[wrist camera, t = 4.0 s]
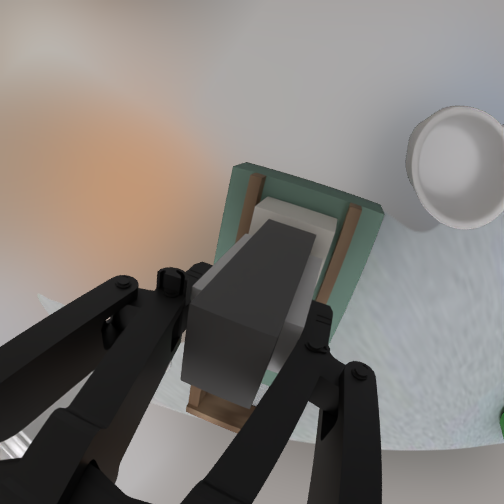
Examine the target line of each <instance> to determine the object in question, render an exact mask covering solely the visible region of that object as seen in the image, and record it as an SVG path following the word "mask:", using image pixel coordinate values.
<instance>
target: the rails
mask: <svg viewBox="0 0 504 504" xmlns="http://www.w3.org/2000/svg"><path fill="white" fill-rule="evenodd" d="M265 180H266V175H262V174H259V173H253V174H251V175H250V178H249V183H248V187H247V192H246V196H245V200H244V205H243V209H242V214H241V218H240V223H239V227H238V232H237V236H236V241H235V244H236V243H237V242H238V241H239V240H240V239H241V238H242V237H243V236H244V235H245V234H249V229H250V225H251V221H252V217H253V213H254V208H255V206H256V205H257V204H259V203H260V200H261V196H262V192H263V188H264V184H265ZM361 212H362V206H359V205H357V204H354V203H351V202H350V205H349V208H348V211H347V214H346V217H345V220H344V223H343V226H342V229H341V232H340V235H339V237H338V240H337V243H336V246H335V249H334V251H333V254H332V257H331V260H330V262H329V265H328V268H327V270H326V273H325V276H324V278H323V281H322V284H321V286H320V289H319V291H318V294H317V297H316V299H315V301H317V302H320V303H323V304H327V301H328V299H329V297H330V294H331V292H332V289H333V287H334V284H335V282H336V279H337V277H338V274H339V272H340V269H341V267H342V264H343V261H344V259H345V256H346V254H347V251H348V248H349V246H350V243H351V240H352V237H353V235H354V232H355V229H356V226H357V224H358V221H359V218H360V215H361Z"/></svg>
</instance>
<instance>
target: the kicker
mask: <svg viewBox="0 0 504 504" xmlns="http://www.w3.org/2000/svg"><path fill="white" fill-rule="evenodd" d="M336 224H337V219H336V218H333V217H330V216H327V215H324V214H321V213H318V212H315V211H312V210H309V209H306V208H303V207H300V206H297V205H294V204H291V203H288V202H285V201H281V200H278V199H275V198H272V197H268V196H267V197H266V198H265V199H264V200H262V201H261V202H260V203H259V204H257V205H256V206H255V208H254V213H253V217H252V221H251V225H250V229H249V235H252V237H251V238H250V239H249V240H248V241H247V243H246V244H245V245H244V246H243V247H242V248H241V249H240V250H239V251H238V252H237V253H236V254H235V255H234V256H233V257H232V259H231V260H230V261H229V262H228V263H227V264H226V265H225V266H224V267H223V268H222V269H221V270H220V271H219V272H218V274H217V275H216V276H215V277H214V278H213V279H212V280H211V281H210V282H209V283H208V284H207V285H206V286H205V287H204V289H203V290H202V291H201V292H200V293H199V294H198V295H197V296H196V297H195V298H194V299H193V300H192V302H191V303H190V305H189V312H188V320H187V328H186V337H185V344H184V353H183V362H182V372H181V380H182V381H184V382H186V383H188V384H190V385H192V386H195V387H197V388H199V389H201V390H204V391H206V392H208V393H210V394H213V395H215V396H218V397H220V398H222V399H225V400H227V401H230V402H232V403H235V404H237V405H240V406H242V407H245V408H248V409H250V408H251V405H252V403H253V401H254V399H255V396H256V394H257V392H258V389H259V387H260V384H261V382H262V380H263V377H264V375H265V372H266V370H267V368H268V365H269V362H270V360H271V357H272V354H273V352H274V349H275V346H276V343H277V341H278V338H279V335H280V333H281V330H282V327H283V325H284V322H285V319H286V317H287V314H288V312H289V309H290V306H291V304H292V301H293V299H294V296H295V293H296V291H297V288H298V285H299V283H300V280H301V277H302V274H303V272H304V269H305V266H306V264H307V261H308V258H309V255H312V256H315V257H318V258H321V259H322V263H321V267H320V271H319V275H318V278H317V282H318V279H319V276H320V274H321V271H322V268H323V265H324V263H325V260H326V257H327V254H328V252H329V249H330V246H331V243H332V240H333V237H334V234H335V230H336ZM317 282H316V284H317ZM315 287H316V286H315Z"/></svg>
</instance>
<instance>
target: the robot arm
mask: <svg viewBox="0 0 504 504" xmlns="http://www.w3.org/2000/svg"><path fill="white" fill-rule="evenodd" d="M251 237H252V235H249V234H245V235H244V236H243V237H242V238H241V239H240V240H239V241H238V242H237V243H236V244H235V245H233V246H232V247H231V248H230V249H229V250H228V251H227V252H226V253H225V254H224V255H223V256H222V257H221V258H220V259H219V260H218V261H217V262H216V263H215V264H214V265H210V264H207V263H204V262H200V263H197V264H194V265H193V266H192V267H191V268H190V269H189V270H188V271H186V272H184V271H183V270H181V269H178V268H173V267H170V268H163V269H160V270H159V271H158V274H157V287H156V289H155V291H151V290H146V289H140V288H138V282H137V280H136V279H135V278H133V277H130V276H126V275H120V276H116V277H113V278H111V279H109V280H108V281H106V282H104V283H103V284H101V285H99V286H97V287H96V288H94V289H93V290H91V291H89V292H87V293H86V294H84V295H82V296H81V297H79V298H77V299H76V300H74V301H72V302H71V303H69V304H67V305H66V306H64V307H62V308H61V309H59V310H58V311H56V312H54V313H53V314H51V315H49V316H48V317H46V318H45V319H43V320H42V321H40V322H38V323H37V324H35V325H33V326H32V327H30V328H29V329H27V330H26V331H24V332H22V333H21V334H19V335H18V336H16V337H15V338H13V339H12V340H10V341H9V342H7V343H6V344H4V345H2V346H1V347H0V442H3V441H5V440H7V439H9V438H11V437H13V436H14V435H16V434H17V433H19V432H20V431H21V430H23V429H24V428H25V427H27V426H28V425H29V424H30V423H31V422H33V421H34V420H35V419H36V418H37V417H38V416H40V415H41V414H42V413H43V412H44V411H46V410H47V409H48V408H49V407H50V406H52V405H53V404H54V403H55V402H56V401H58V400H59V399H60V398H61V397H62V396H64V395H65V394H66V393H67V392H68V391H70V390H71V389H72V388H73V387H74V386H76V385H77V384H78V383H79V382H80V381H82V380H83V379H84V378H85V377H86V376H88V375H89V374H90V373H91V372H92V371H93V373H92V374H91V375H90V377H89V378H88V380H87V381H86V382H85V384H84V385H83V387H82V388H81V389H80V391H79V392H78V394H77V395H76V397H75V398H74V399H73V401H72V402H71V404H70V405H69V406H68V407H67V408H60V407H59V408H57V409H55V410H54V411H53V412H52V414H51V415H50V416H49V418H48V419H47V421H46V422H45V423H44V425H43V426H42V428H41V429H40V431H39V432H38V434H37V435H36V437H35V438H34V440H33V441H32V443H31V444H30V446H29V447H28V449H27V450H26V452H25V453H24V455H23V456H22V457H21V458H13V459H4V460H0V504H151V503H148V502H144V501H141V500H137V499H134V498H131V497H129V496H127V495H125V494H124V493H123V492H122V491H121V490H120V489H119V488H118V487H117V486H116V485H115V482H116V479H117V476H118V471H119V465H120V462H121V460H122V458H123V456H124V454H125V452H126V450H127V448H128V446H129V444H130V442H131V440H132V438H133V435H134V433H135V432H136V429H137V427H138V425H139V423H140V421H141V419H142V417H143V415H144V413H145V411H146V409H147V407H148V405H149V403H150V401H151V400H152V398H153V396H154V394H155V392H156V390H157V388H158V386H159V384H160V382H161V380H162V378H163V376H164V374H165V372H166V370H167V368H168V366H169V364H170V362H171V360H172V358H173V356H174V354H175V352H176V351H177V349H178V347H179V345H180V343H181V337H182V333H183V332H184V331H185V330H186V328H187V320H188V312H189V305H190V303H191V302H192V300H193V299H194V298H195V297H196V296H197V295H198V294H199V293H200V292H201V291H202V290H203V289H204V287H205V286H206V285H207V284H208V283H209V282H210V281H211V280H212V279H213V278H214V277H215V276H216V275H217V274H218V272H219V271H220V270H221V269H222V268H223V267H224V266H225V265H226V264H227V263H228V262H229V261H230V260H231V259H232V257H233V256H234V255H235V254H236V253H237V252H238V251H239V250H240V249H241V248H242V247H243V246H244V245H245V244H246V243H247V241H248V240H249V239H250V238H251ZM321 263H322V259H321V258H318V257H315V256H312V255H309V258H308V261H307V264H306V266H305V269H304V272H303V274H302V277H301V280H300V283H299V285H298V288H297V291H296V293H295V296H294V299H293V301H292V304H291V306H290V309H289V312H288V314H287V317H286V319H285V322H284V325H283V327H282V330H281V333H280V335H279V338H278V341H277V343H276V346H275V349H274V352H273V354H272V357H271V360H270V362H269V365H268V368H267V370H270V371H273V372H275V373H278V374H277V376H276V377H275V379H274V381H273V382H272V384H271V385H270V387H269V388H268V390H267V391H266V393H265V394H264V396H263V397H262V399H261V400H260V402H259V403H258V405H257V406H256V408H255V409H254V411H253V412H252V414H251V415H250V417H249V418H248V420H247V421H246V422H245V424H244V425H243V427H242V428H241V430H240V431H239V432H238V434H237V435H236V437H235V438H234V439H233V441H232V442H231V444H230V445H229V446H228V448H227V449H226V450H225V452H224V453H223V455H222V456H221V457H220V459H219V460H218V461H217V463H216V464H215V465H214V467H213V468H212V469H211V471H210V472H209V473H208V474H207V476H206V477H205V478H204V479H203V480H201V481H200V482H199V483H198V484H197V485H196V486H195V487H194V488H193V489H192V490H191V491H190V493H189V494H188V495H187V496H186V498H185V499H184V500H183V501H182V502H181V503H180V504H252V503H253V501H254V499H255V498H256V496H257V494H258V493H259V491H260V490H261V488H262V486H263V485H264V483H265V481H266V479H267V478H268V476H269V474H270V473H271V471H272V469H273V467H274V466H275V464H276V462H277V460H278V458H279V457H280V455H281V453H282V451H283V449H284V447H285V445H286V444H287V442H288V440H289V438H290V436H291V434H292V432H293V430H294V429H295V427H296V425H297V423H298V421H299V419H300V417H301V415H302V413H303V411H304V409H305V406H306V404H307V402H308V401H309V402H311V403H313V404H314V405H316V406H317V407H319V408H320V409H319V418H318V427H317V436H316V445H315V453H314V461H313V468H312V476H311V482H310V489H309V495H308V501H307V504H382V462H381V437H380V420H379V407H378V396H377V385H376V376H375V374H374V371H373V370H372V369H371V368H370V367H369V366H368V365H366V364H364V363H362V362H357V361H352V362H349V363H348V364H346V365H344V364H343V363H341V362H339V361H338V360H337V359H335V358H334V357H333V356H332V355H331V353H330V348H329V346H328V343H329V337H330V331H331V325H332V319H333V311H332V309H331V307H330V306H329V305H326V304H323V303H320V302H317V301H314V300H312V297H313V294H314V290H315V286H316V282H317V278H318V275H319V271H320V267H321ZM109 317H110V319H109V320H107V321H106V319H108V318H109Z"/></svg>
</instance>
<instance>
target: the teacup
mask: <svg viewBox="0 0 504 504" xmlns="http://www.w3.org/2000/svg"><path fill="white" fill-rule="evenodd" d="M406 170H407V175H408V178H409V181H410V183H411V184H412V186H413V188H414V190H415V192H416V194H417V196H418V198H419V200H420V201H421V203H422V205H423V206H424V208H425V209H426V210H427V211H428V212H429V213H430V215H431V216H433V217H434V218H435V219H437V220H438V221H439V222H441V223H442V224H444V225H446V226H449V227H452V228H456V229H474V228H478V227H481V226H484V225H486V224H488V223H490V222H491V221H493V220H494V219H495V218H497V217H498V216H499V215H500V214H501V213H502V212H503V210H504V124H503V125H501V124H500V123H499V122H498V121H497V120H496V119H495V118H493V117H492V116H491V115H489V114H488V113H486V112H484V111H482V110H479V109H476V108H472V107H468V106H450V107H446V108H443V109H441V110H439V111H437V112H436V113H434V114H433V115H431V116H430V117H428V118H427V119H425V120H424V121H422V122H421V123H419V124H418V125H417V126H416V127H415V129H414V130H413V132H412V134H411V136H410V139H409V143H408V149H407V155H406Z"/></svg>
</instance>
